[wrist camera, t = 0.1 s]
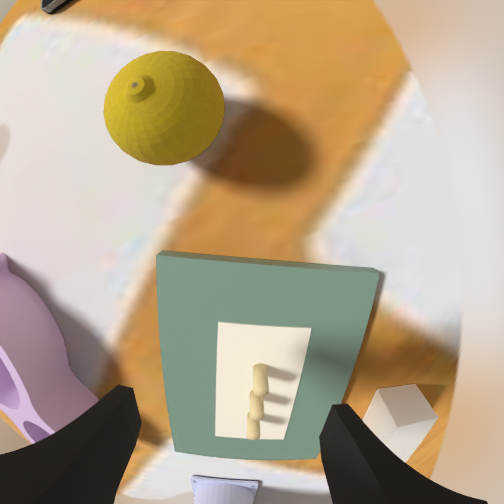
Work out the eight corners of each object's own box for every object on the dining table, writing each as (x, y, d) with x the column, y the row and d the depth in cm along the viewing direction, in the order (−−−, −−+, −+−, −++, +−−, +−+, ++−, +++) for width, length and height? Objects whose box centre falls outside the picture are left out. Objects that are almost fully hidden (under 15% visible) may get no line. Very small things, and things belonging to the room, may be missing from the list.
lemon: (225, 77, 15) (205, 8, 7) (235, 160, 16) (221, 143, 8) (141, 95, 15) (75, 51, 7) (148, 176, 16) (76, 176, 8)
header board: (314, 450, 23) (319, 477, 19) (177, 442, 22) (170, 470, 19) (372, 267, 18) (397, 287, 14) (162, 250, 17) (141, 267, 14)
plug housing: (368, 462, 24) (378, 492, 19) (335, 467, 24) (343, 499, 19) (415, 383, 21) (438, 417, 16) (377, 388, 21) (397, 427, 16)
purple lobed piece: (132, 416, 22) (110, 468, 15) (67, 425, 23) (45, 462, 16) (14, 237, 17) (-41, 258, 11) (-26, 288, 19) (-64, 310, 12)
